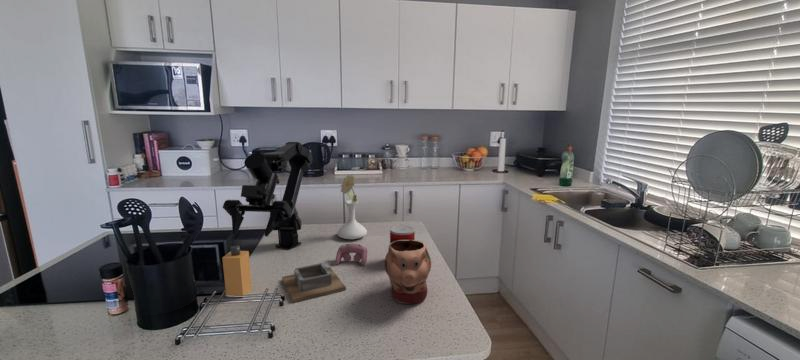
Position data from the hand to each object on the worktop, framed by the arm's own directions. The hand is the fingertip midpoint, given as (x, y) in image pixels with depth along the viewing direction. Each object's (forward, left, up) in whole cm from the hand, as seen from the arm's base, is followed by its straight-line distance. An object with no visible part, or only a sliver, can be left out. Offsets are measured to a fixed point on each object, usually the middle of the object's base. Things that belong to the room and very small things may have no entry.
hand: (249, 235), depth 101 cm
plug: (+3, -7, -13) cm, 15 cm away
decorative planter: (+42, +15, -14) cm, 47 cm away
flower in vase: (+4, +42, -14) cm, 44 cm away
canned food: (+31, +32, -14) cm, 47 cm away
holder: (+17, +6, -13) cm, 23 cm away
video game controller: (+17, +23, -14) cm, 32 cm away
